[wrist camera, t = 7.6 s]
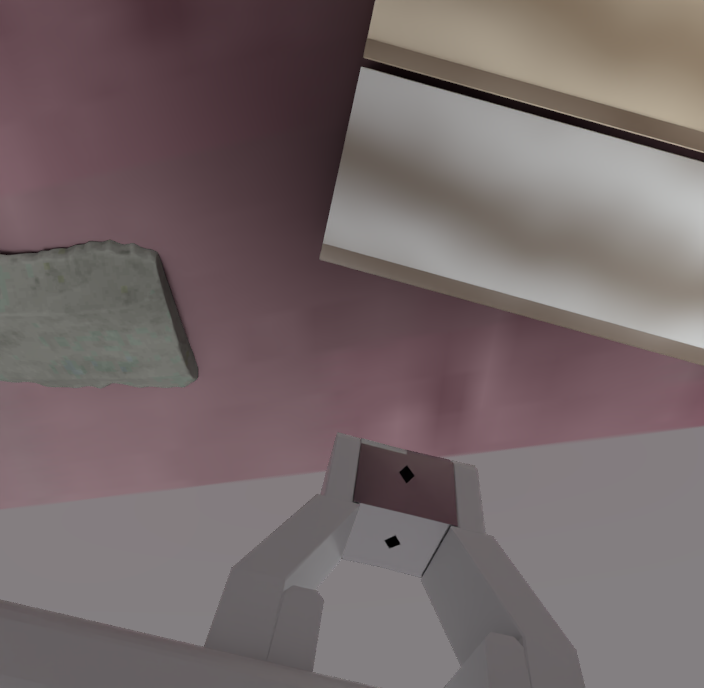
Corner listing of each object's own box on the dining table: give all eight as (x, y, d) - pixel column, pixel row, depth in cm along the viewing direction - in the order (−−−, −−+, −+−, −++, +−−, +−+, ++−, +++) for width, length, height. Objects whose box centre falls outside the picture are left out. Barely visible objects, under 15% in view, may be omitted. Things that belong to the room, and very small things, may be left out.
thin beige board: (417, -168, 16) (415, -192, 15) (1035, 7, 17) (1106, 4, 15) (368, 56, 20) (362, 58, 18) (875, 197, 20) (917, 213, 18)
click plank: (366, 67, 20) (360, 66, 18) (868, 207, 20) (910, 220, 19) (326, 245, 24) (319, 259, 22) (747, 362, 24) (772, 384, 23)
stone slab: (217, 367, 32) (156, 231, 26) (202, 396, 30) (132, 257, 24) (-53, 374, 37) (-160, 259, 31) (-83, 400, 35) (-204, 283, 28)
